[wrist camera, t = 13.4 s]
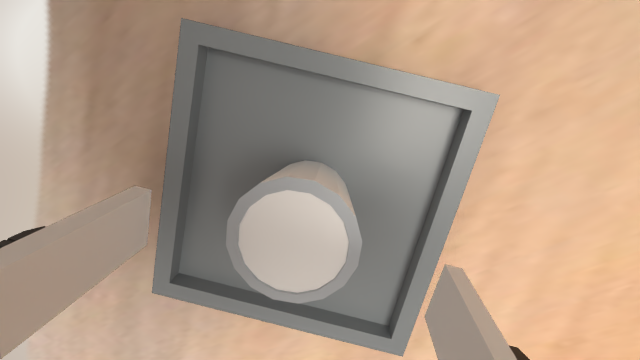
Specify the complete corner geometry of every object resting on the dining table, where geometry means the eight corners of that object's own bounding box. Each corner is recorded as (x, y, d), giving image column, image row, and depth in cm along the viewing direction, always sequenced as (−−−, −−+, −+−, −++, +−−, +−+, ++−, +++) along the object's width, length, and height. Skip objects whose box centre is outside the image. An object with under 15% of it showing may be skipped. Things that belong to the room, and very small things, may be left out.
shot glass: (374, 222, 23) (385, 277, 16) (287, 258, 24) (264, 322, 18) (331, 133, 22) (324, 153, 15) (242, 176, 23) (198, 212, 16)
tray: (196, 24, 21) (181, 18, 19) (485, 94, 21) (499, 95, 19) (166, 278, 26) (151, 292, 24) (398, 336, 26) (402, 356, 24)
